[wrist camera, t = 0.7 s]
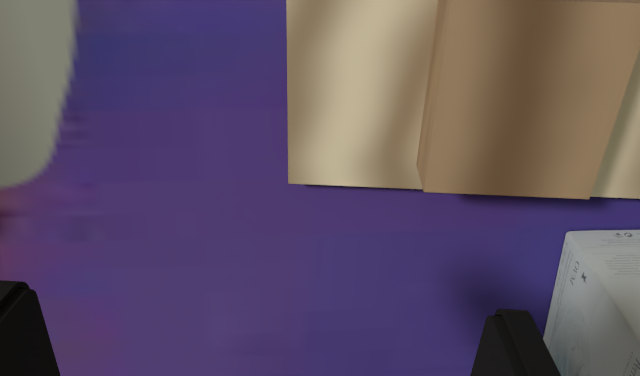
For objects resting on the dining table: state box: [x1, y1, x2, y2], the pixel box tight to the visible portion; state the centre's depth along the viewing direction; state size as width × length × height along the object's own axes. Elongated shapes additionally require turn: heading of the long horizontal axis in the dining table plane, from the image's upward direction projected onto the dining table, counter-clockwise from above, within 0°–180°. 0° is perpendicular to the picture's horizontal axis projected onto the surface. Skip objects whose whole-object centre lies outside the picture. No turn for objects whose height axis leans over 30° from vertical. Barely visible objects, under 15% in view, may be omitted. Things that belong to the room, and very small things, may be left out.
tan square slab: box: [416, 0, 640, 199], centre depth 23 cm, size 8×9×3 cm
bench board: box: [287, 0, 640, 199], centre depth 23 cm, size 29×12×6 cm, turn 89°
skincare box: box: [543, 230, 640, 376], centre depth 27 cm, size 10×6×10 cm, turn 4°
